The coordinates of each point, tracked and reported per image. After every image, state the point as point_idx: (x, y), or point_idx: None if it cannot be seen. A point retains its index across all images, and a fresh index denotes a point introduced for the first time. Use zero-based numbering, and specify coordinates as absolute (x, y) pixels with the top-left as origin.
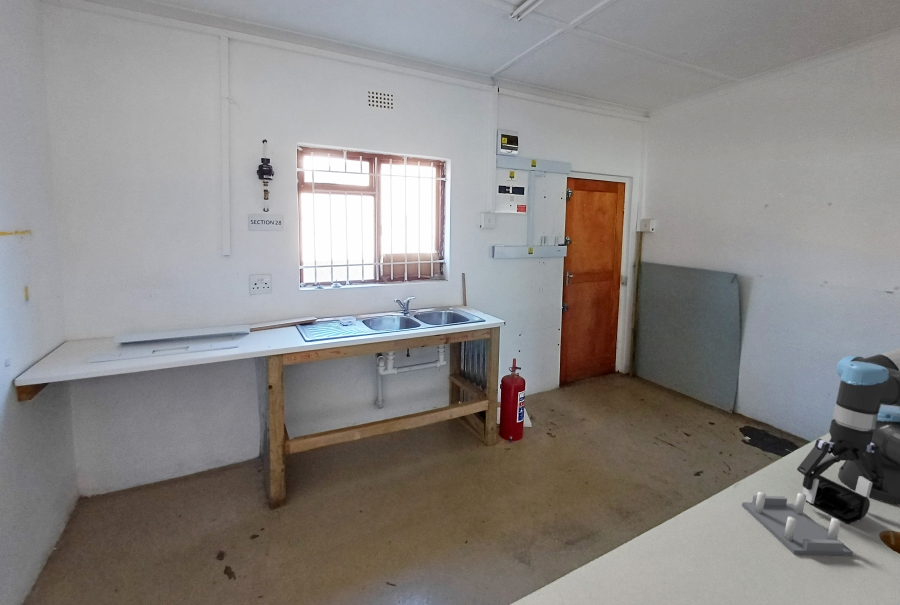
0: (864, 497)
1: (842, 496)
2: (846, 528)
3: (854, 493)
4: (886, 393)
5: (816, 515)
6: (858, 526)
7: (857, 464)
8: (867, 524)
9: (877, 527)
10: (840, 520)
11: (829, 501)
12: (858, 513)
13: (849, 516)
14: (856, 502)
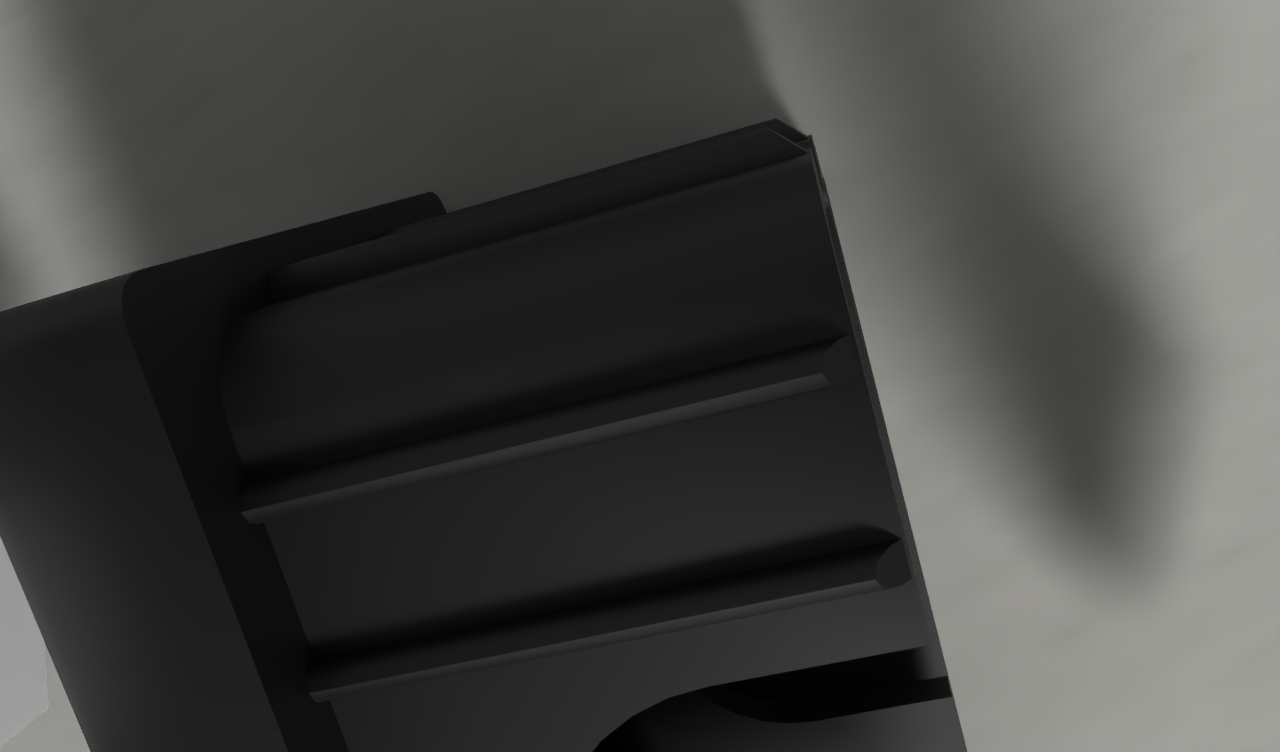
0: (106, 322)
1: (820, 536)
2: (975, 7)
3: (242, 594)
4: None
5: (1228, 447)
6: (612, 64)
7: None
8: (345, 119)
9: (222, 22)
10: (842, 254)
11: (634, 724)
12: (464, 209)
13: (800, 141)
14: (536, 239)
